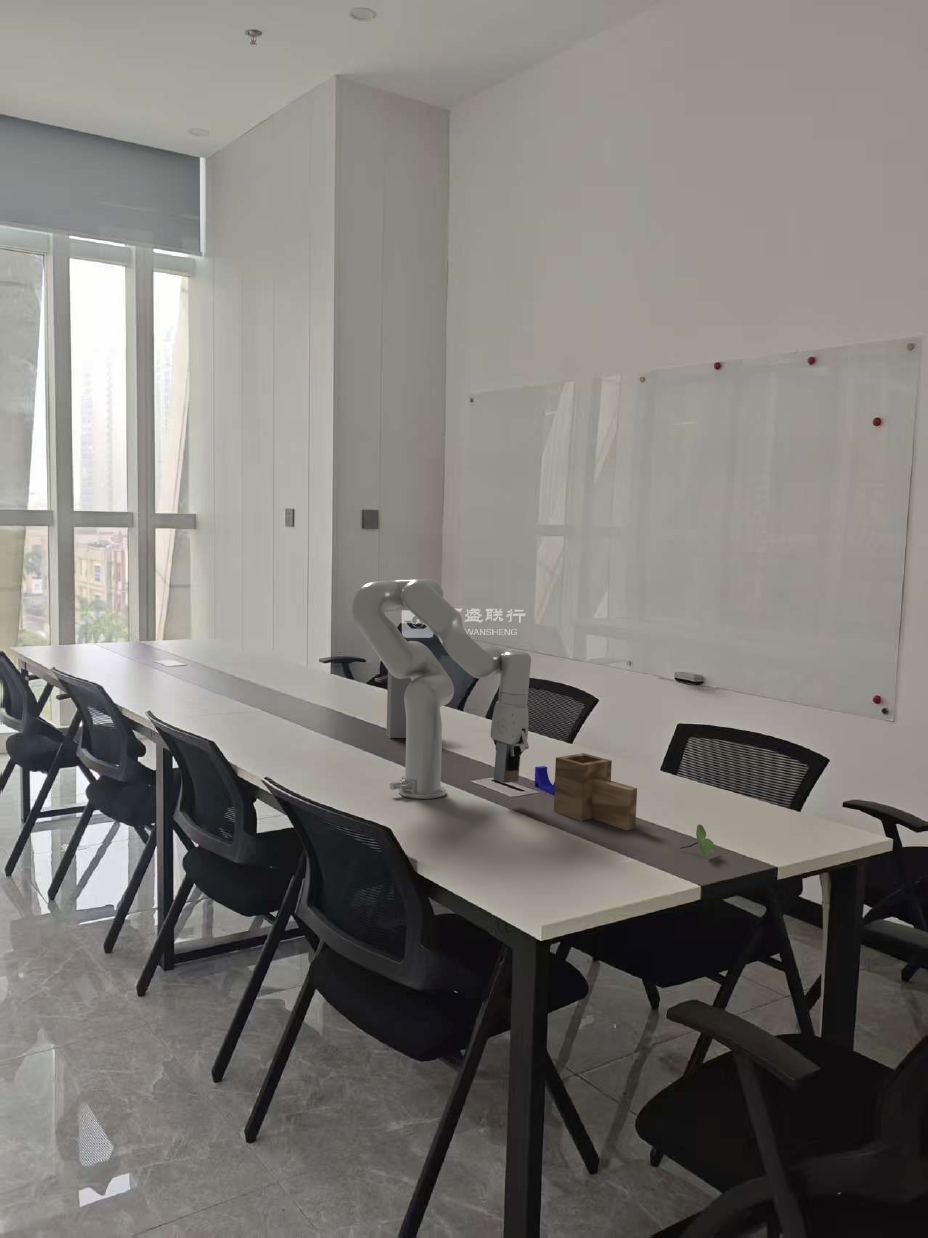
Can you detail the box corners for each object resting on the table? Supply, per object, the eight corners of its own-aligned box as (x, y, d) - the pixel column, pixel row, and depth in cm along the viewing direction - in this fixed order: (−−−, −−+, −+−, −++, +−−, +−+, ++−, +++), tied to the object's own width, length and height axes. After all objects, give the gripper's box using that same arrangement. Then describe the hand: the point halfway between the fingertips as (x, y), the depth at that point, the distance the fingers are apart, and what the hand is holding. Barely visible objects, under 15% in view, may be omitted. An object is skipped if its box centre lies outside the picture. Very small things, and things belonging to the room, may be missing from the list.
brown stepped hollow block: (616, 832, 246) (619, 775, 245) (553, 811, 263) (555, 757, 262) (645, 826, 252) (647, 770, 251) (581, 805, 269) (583, 753, 268)
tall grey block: (424, 736, 352) (426, 664, 349) (429, 740, 346) (431, 666, 344) (385, 738, 347) (386, 664, 345) (389, 741, 341) (391, 667, 339)
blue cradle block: (571, 797, 279) (572, 775, 278) (557, 798, 277) (558, 776, 276) (548, 786, 289) (548, 765, 289) (534, 787, 287) (535, 766, 287)
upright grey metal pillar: (503, 783, 264) (507, 742, 262) (492, 779, 267) (496, 738, 266) (519, 781, 267) (522, 740, 266) (508, 777, 270) (511, 736, 269)
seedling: (693, 870, 234) (718, 860, 231) (673, 857, 230) (698, 846, 227) (689, 843, 239) (713, 833, 236) (669, 829, 235) (693, 818, 232)
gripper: (481, 693, 269) (475, 761, 271) (523, 706, 256) (517, 777, 258) (503, 692, 273) (497, 759, 275) (545, 704, 261) (539, 775, 262)
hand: (506, 767), depth 267 cm, fingers closed on upright grey metal pillar, 4 cm apart
